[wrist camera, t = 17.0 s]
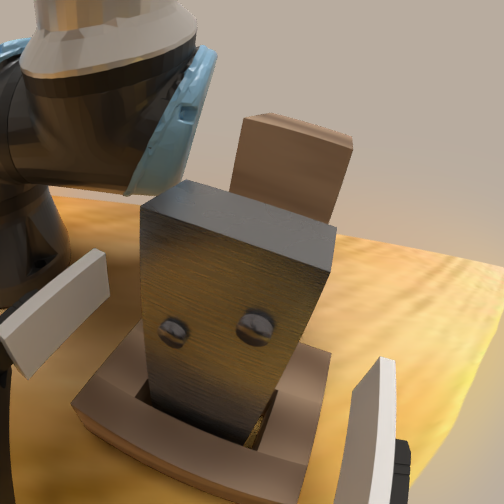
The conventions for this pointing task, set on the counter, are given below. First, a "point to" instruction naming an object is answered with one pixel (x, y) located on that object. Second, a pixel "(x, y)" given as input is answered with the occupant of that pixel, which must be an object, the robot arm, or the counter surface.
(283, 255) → the grey metal block
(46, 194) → the robot arm
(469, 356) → the counter surface
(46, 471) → the counter surface
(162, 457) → the wooden post with frame
